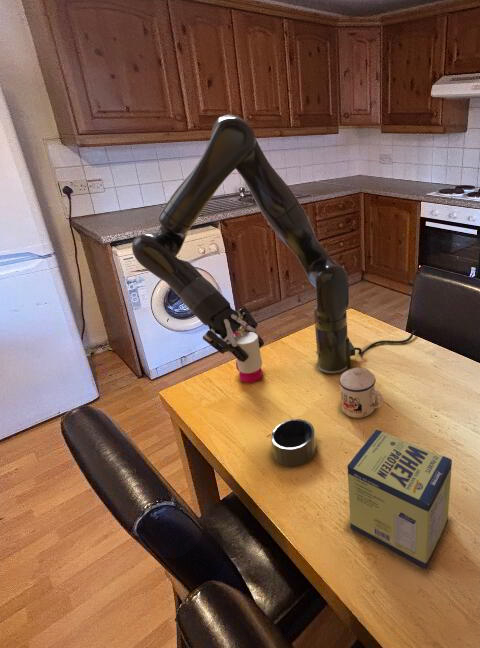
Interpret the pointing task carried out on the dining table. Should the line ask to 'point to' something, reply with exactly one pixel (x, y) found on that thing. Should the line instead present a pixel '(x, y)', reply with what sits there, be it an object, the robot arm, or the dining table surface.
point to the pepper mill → (249, 376)
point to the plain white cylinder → (249, 352)
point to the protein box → (399, 496)
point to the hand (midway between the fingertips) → (254, 352)
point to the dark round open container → (293, 442)
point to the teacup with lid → (359, 392)
